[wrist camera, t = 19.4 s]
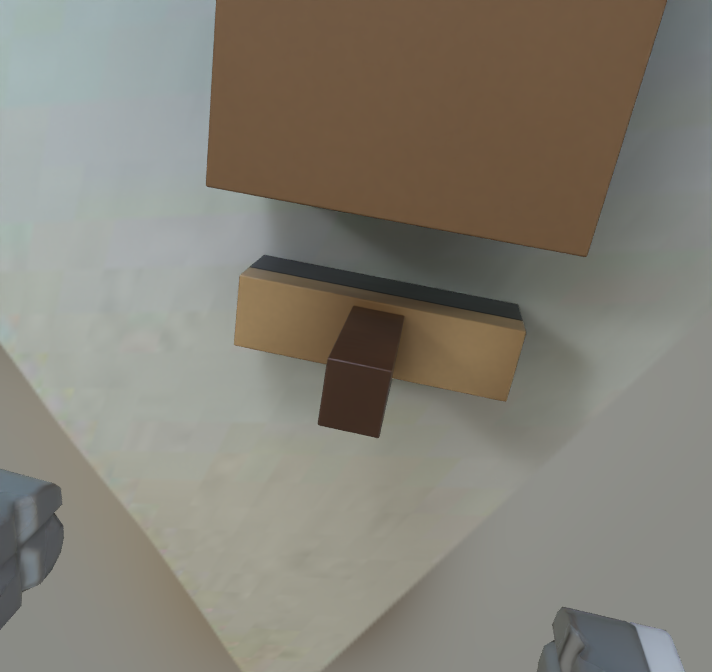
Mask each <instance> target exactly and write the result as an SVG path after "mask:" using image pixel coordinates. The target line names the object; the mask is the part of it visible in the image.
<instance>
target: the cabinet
mask: <svg viewBox="0 0 712 672" xmlns="http://www.w3.org/2000/svg"><path fill="white" fill-rule="evenodd" d="M666 3H667V0H216V13H215V31H214V49H213V67H212V85H211V102H210V120H209V138H208V156H207V174H206V186H207V187H212V188H217V189H222V190H228V191H233V192H238V193H244V194H249V195H255V196H260V197H265V198H271V199H276V200H281V201H287V202H292V203H298V204H303V205H308V206H314V207H319V208H324V209H330V210H335V211H340V212H346V213H351V214H357V215H362V216H367V217H373V218H378V219H383V220H389V221H394V222H400V223H405V224H410V225H416V226H421V227H426V228H432V229H437V230H442V231H448V232H453V233H459V234H464V235H469V236H475V237H480V238H485V239H491V240H496V241H502V242H507V243H512V244H518V245H523V246H528V247H534V248H539V249H544V250H550V251H555V252H561V253H566V254H571V255H577V256H582V257H586V256H587V255H588V252H589V249H590V245H591V242H592V239H593V236H594V233H595V229H596V226H597V223H598V220H599V217H600V213H601V210H602V207H603V204H604V201H605V198H606V194H607V191H608V188H609V185H610V182H611V178H612V175H613V172H614V169H615V166H616V162H617V159H618V156H619V153H620V150H621V147H622V143H623V140H624V137H625V134H626V131H627V127H628V124H629V121H630V118H631V115H632V111H633V108H634V105H635V102H636V99H637V96H638V92H639V89H640V86H641V83H642V80H643V76H644V73H645V70H646V67H647V64H648V60H649V57H650V54H651V51H652V48H653V45H654V41H655V38H656V35H657V32H658V29H659V25H660V22H661V19H662V16H663V13H664V9H665V6H666Z"/></svg>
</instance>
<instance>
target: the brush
mask: <svg viewBox="0 0 712 672" xmlns="http://www.w3.org/2000/svg"><path fill="white" fill-rule="evenodd" d="M525 336H526V329H525V326H524V323H523V319H522V316H521V313H520V309H519V306H518V304H513V303H508V302H503V301H498V300H493V299H487V298H482V297H477V296H472V295H467V294H462V293H457V292H452V291H446V290H441V289H436V288H431V287H426V286H421V285H416V284H411V283H405V282H400V281H395V280H390V279H385V278H380V277H375V276H369V275H364V274H359V273H354V272H349V271H344V270H339V269H334V268H328V267H323V266H318V265H313V264H308V263H303V262H298V261H293V260H287V259H282V258H277V257H272V256H267V255H263V256H262V257H261V258H260V259H258V260H257V261H256V262H255V263H254V264H252V265H251V266H250V267H249V268H248V269H247V270H245V271H244V272H243V273H242V274H241V275H240V277H239V289H238V301H237V314H236V326H235V338H234V345H236V346H241V347H245V348H250V349H255V350H260V351H265V352H269V353H274V354H279V355H284V356H289V357H293V358H298V359H303V360H308V361H313V362H317V363H322V364H327V365H326V372H325V378H324V385H323V392H322V398H321V405H320V411H319V418H318V425H320V426H325V427H329V428H334V429H338V430H343V431H348V432H352V433H357V434H361V435H366V436H371V437H375V438H379V436H380V432H381V427H382V423H383V418H384V414H385V409H386V405H387V400H388V395H389V391H390V386H391V382H392V378H394V379H399V380H404V381H409V382H413V383H418V384H423V385H428V386H433V387H437V388H442V389H447V390H452V391H457V392H461V393H466V394H471V395H476V396H481V397H485V398H490V399H495V400H500V401H505V402H506V401H507V398H508V395H509V391H510V388H511V384H512V381H513V377H514V374H515V370H516V367H517V363H518V360H519V357H520V353H521V350H522V346H523V343H524V339H525Z"/></svg>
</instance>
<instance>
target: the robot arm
mask: <svg viewBox="0 0 712 672" xmlns="http://www.w3.org/2000/svg"><path fill="white" fill-rule="evenodd" d="M61 505H62V496H61V488H60V487H59V486H57V485H56V484H54V483H51V482H47V481H44V480H40V479H36V478H33V477H29V476H25V475H21V474H18V473H14V472H10V471H6V470H3V469H0V630H1V628H2V627H3V626H4V625H5V624H6V622H7V621H8V620H9V619H10V618H11V617H12V616H13V615H14V614H15V612H16V611H17V610H18V609H19V608H20V606H21V601H22V592H23V591H26V590H28V589H30V588H32V587H34V586H37V585H39V584H41V582H42V581H43V580H44V579H45V578H46V576H47V575H48V574H49V573H50V572H51V570H52V569H53V567H54V565H55V563H56V561H57V559H58V557H59V555H60V553H61V549H62V544H63V539H64V531H63V525H62V523H61V522H60V520H59V519H58V518H57V516H56V515H55V513H54V512H55V511H56V510H57V509H58V508H59V507H60V506H61ZM552 626H553V633H554V639H555V640H554V641H552V642H550V643H548V644H547V645H545V646H544V648H543V650H542V653H541V656H540V659H539V662H538V669H537V672H685V670H684V667H683V665H682V662H681V660H680V657H679V655H678V653H677V650H676V647H675V645H674V642H673V640H672V637H671V636H670V635H669V633H668V632H667V631H666V630H663V629H658V628H655V627H650V626H646V625H641V624H637V623H632V622H630V623H628V622H626V621H622V620H618V619H613V618H609V617H605V616H601V615H597V614H592V613H588V612H584V611H579V610H575V609H571V608H566V607H562V608H561V609H560V610H559V611H558V612H557V614H556V617H555V619H554V622H553V624H552Z"/></svg>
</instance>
